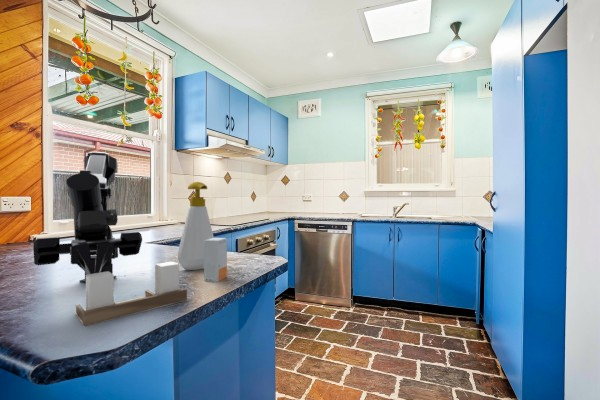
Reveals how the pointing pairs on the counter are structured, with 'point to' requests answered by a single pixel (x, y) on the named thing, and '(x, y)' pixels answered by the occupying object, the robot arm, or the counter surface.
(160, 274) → the white rectangular block
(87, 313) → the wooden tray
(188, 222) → the soap bottle
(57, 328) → the counter surface
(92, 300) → the white tall block
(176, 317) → the counter surface
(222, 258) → the skincare box
